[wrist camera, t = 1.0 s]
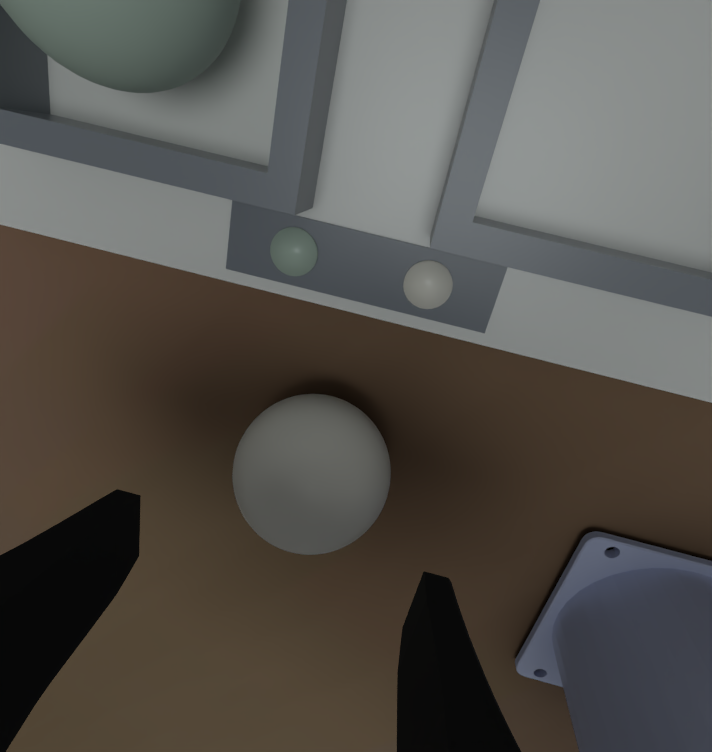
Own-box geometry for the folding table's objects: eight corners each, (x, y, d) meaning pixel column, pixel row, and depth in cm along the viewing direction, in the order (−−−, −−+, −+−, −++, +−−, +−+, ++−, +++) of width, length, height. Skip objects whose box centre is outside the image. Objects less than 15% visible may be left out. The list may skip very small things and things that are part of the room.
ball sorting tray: (1119, -240, 9) (1407, -407, 6) (727, 396, 15) (791, 447, 12) (-58, -463, 10) (-237, -692, 7) (7, 216, 16) (-78, 227, 13)
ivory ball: (411, 389, 17) (404, 475, 12) (378, 502, 19) (361, 611, 14) (271, 354, 17) (212, 425, 12) (254, 468, 19) (198, 565, 14)
